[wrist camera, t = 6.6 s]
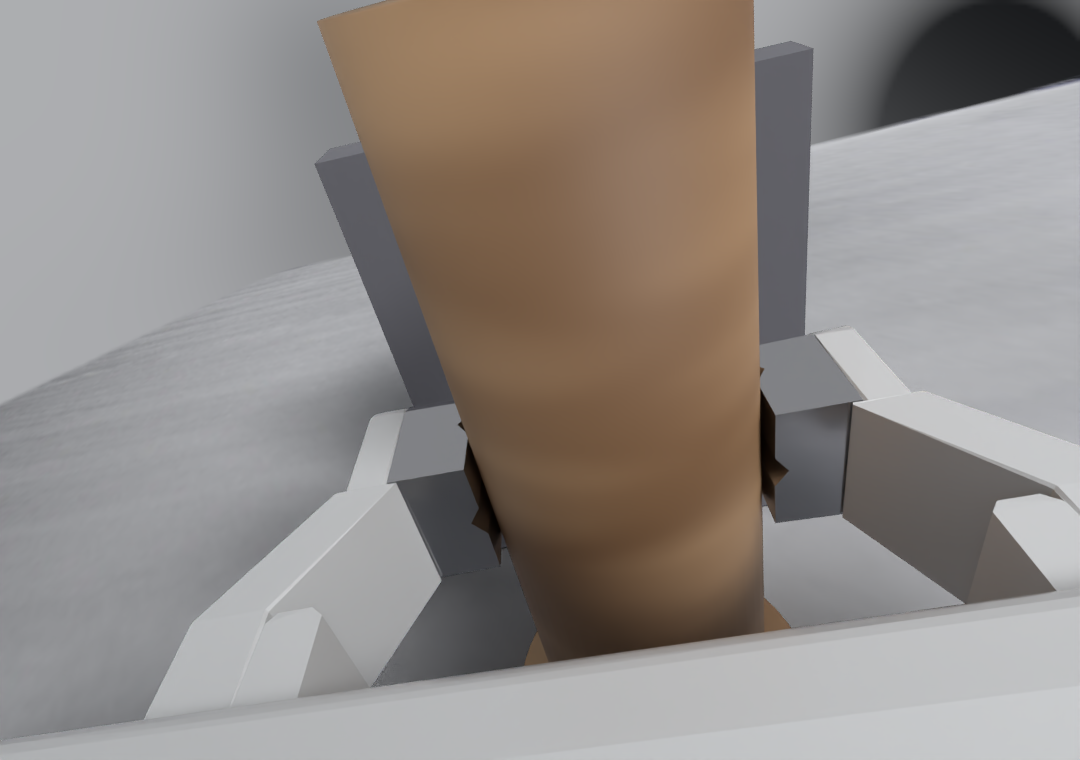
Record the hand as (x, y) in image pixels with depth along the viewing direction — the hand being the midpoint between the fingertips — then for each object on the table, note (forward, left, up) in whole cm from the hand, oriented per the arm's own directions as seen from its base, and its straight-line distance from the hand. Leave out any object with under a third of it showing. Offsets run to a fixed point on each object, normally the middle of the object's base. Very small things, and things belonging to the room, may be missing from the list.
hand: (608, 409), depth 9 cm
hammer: (0, +5, -6) cm, 8 cm away
